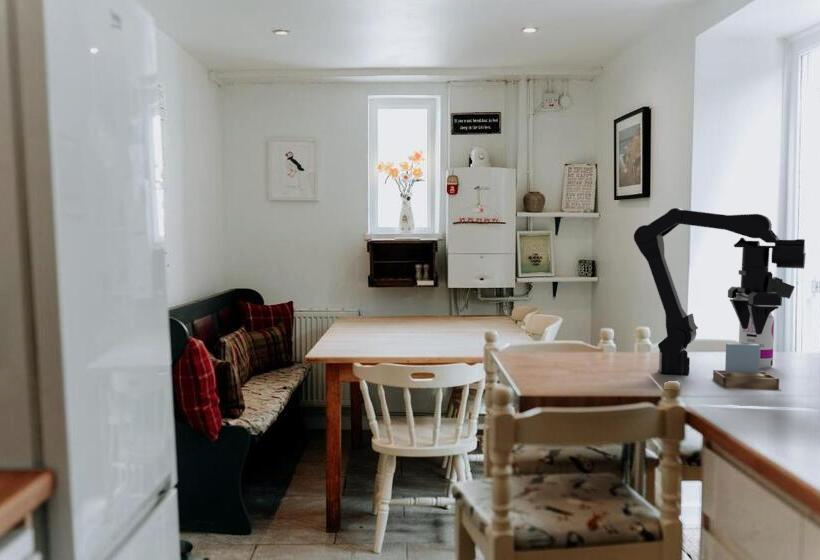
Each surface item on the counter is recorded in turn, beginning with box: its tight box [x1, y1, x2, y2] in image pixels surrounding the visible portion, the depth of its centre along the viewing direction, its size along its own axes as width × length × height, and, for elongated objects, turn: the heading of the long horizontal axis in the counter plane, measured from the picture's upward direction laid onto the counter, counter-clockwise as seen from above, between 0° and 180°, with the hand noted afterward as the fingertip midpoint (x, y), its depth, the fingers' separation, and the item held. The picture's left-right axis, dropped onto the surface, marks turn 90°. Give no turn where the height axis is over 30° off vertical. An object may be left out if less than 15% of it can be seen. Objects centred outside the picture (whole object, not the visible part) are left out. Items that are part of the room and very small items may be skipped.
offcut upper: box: [730, 372, 765, 378], centre depth 158 cm, size 6×4×1 cm, turn 80°
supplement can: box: [738, 312, 775, 369], centre depth 183 cm, size 8×8×15 cm
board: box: [724, 342, 760, 373], centre depth 162 cm, size 7×2×9 cm, turn 80°
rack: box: [711, 369, 782, 391], centre depth 160 cm, size 12×11×3 cm
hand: (751, 331), depth 163 cm, fingers open, 9 cm apart
